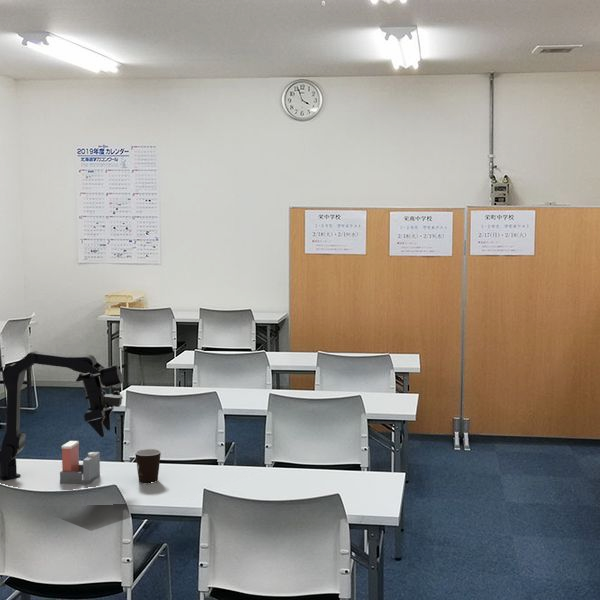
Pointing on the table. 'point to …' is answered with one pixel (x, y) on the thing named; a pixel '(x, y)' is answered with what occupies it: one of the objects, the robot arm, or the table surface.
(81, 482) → the grey stepped block
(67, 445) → the red rectangular block
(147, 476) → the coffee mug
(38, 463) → the table surface
